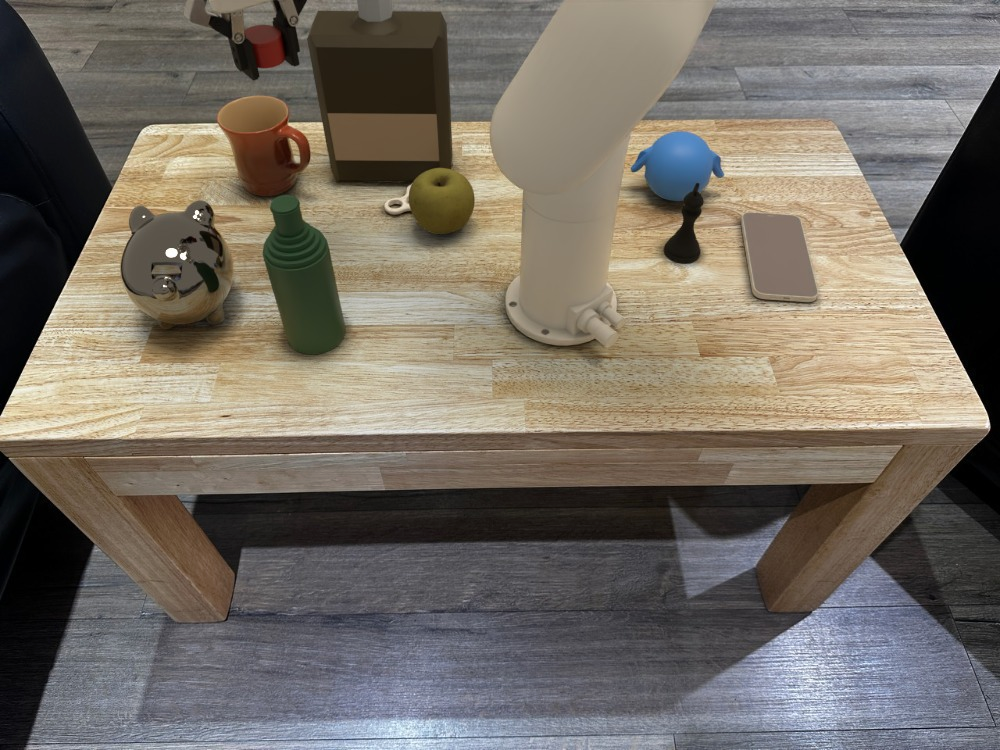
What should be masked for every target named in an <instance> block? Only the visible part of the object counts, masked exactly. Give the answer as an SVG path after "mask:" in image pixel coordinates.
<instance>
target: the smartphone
mask: <svg viewBox="0 0 1000 750" xmlns="http://www.w3.org/2000/svg"><path fill="white" fill-rule="evenodd" d="M740 226H741V231H742V239H743V245H744V251H745V257H746V263H747V269H748V275H749V282H750V288H751V292H752V295H753V296H754V297H756V298H758V299H760V300H761V299H762V300H772V301H784V302H785V301H787V302H801V303H812V302H815V301H816V300H817V298H818V295H819V288H818V285H817V280H816V275H815V272H814V268H813V263H812V259H811V254H810V250H809V247H808V243H807V239H806V234H805V230H804V226H803V222H802V219H801V218H800V217H799V216H797V215H795V214H789V213H771V212H758V211H757V212H756V211H745V212H744V213H742V215H741V218H740Z"/></svg>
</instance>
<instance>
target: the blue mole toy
mask: <svg viewBox="0 0 1000 750" xmlns="http://www.w3.org/2000/svg"><path fill="white" fill-rule="evenodd" d="M721 163H722V159H721V156H720V155H719V154H717V153H716V152H715V151H713V150H711V148H710V147H709V145H708V144H707V142H706V141H705V140H704V139H703V138H702V137H700V136H699V135H697V134H695V133H693V132H689V131H685V130H684V131H683V130H678V131H672V132H668V133H665V134H663V135H662V136H660V137H659V138H657V139H656V140H655V141H654V142H653V144H652V145H651V146H649V147H647V148H645V149H642V150H641V151H640V152H639V153H638V155H637V157H636V159H635V162H634V163H633V164H632V165H631V166H630V171H631V173H637V172H639V171H640V170H641V169H642V168H643V167H644V180H645V182H646V184H647V185H648V186H649V188H650V189H651V191H652V192H653V193H654V194H655V195H657V196H658V197H660V198H662V199H664V200H667V201H670V202H682V201H683V200H684V197H685V196H686V195H687V194H688V193H690V192H692V191H693V189H694V187H695V185H696V183H699V184H700V185H699V189H698V192H699V193H700V194H701V192H702V191H703V190H705V189H706V188H707V187H708V185H709V183H710V179H711V177H712V173H713V175H714V176H715V177H716V178H718V179H722V178H724V176H725V173H724V171H723V169H722V167H721Z"/></svg>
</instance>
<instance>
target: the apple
mask: <svg viewBox="0 0 1000 750" xmlns="http://www.w3.org/2000/svg"><path fill="white" fill-rule="evenodd" d="M411 184H412V185H411ZM411 184H410V185H411V187H410V190H409V201H408V203H409V206H410V209H411V211H410V213H411V214H412V217H413V218H414V220H415V222H417V223H418V225H419V226H420V227H421V228H422V229H423V230H425V231H426V232H429V233H432V234H435V235H445V234H450V233H451V234H452V233H454V232H457V231H459V230H461V229H462V228H463V227H465V226H466V225H467V223H468V222H469V221H470V219H471V217H472V214H473V212H474V208H475V203H476V202H475V201H476V200H475V198H476V197H475V191H474V188H473V186H472V184H471V182H470V180H469V179H468V178H467V177H466V176H465V175H464V174H463V173H461V172H459V171H457V170H454V169H446V168H434V169H430V170H428V171H425V172H423V173H422V174H420V175H419V176H418V177H417V178H416V179H415V180H414V181H413V182H411Z"/></svg>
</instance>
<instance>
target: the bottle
mask: <svg viewBox="0 0 1000 750" xmlns="http://www.w3.org/2000/svg"><path fill="white" fill-rule="evenodd" d="M356 4H357V10H317V12H316V15H315V17H314V19H313V21H312V23H311V27H310V29H309V31H308V35H307V37H306V41H307V46H308V51H309V52H308V53H309V58H310V63H311V67H312V73H313V80H314V84H315V89H316V95H317V100H318V106H319V111H320V118H321V123H322V128H323V133H324V139H325V145H326V150H327V154H328V161H329V164H330V165H329V166H330V171H331V173H332V176H333V178H334V180H335V182H337V183H339V182H341V183H413V181H414V180H415V179H416V178H417V177H418V176H419V175H420V174H422V173H423V172H425V171H428V170H430V169H434V168H446V169H451V170H453V169H452V168H453V167H452V166H453V156H454V155H453V153H454V152H453V134H452V133H453V132H452V111H451V109H452V108H451V90H450V66H449V43H448V25H447V24H448V23H447V22H446V19H445V17H444V15H443V13H442V11H409V10H408V11H404V10H403V11H402V10H401V11H399V10H398V11H397V10H396V11H395V10H393V3H392V0H356Z"/></svg>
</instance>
